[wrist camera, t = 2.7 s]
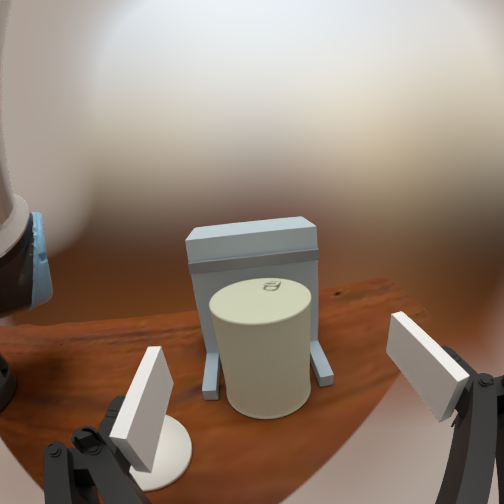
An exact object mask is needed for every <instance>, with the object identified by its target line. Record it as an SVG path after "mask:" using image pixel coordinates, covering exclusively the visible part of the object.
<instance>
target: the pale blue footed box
mask: <svg viewBox="0 0 504 504" xmlns="http://www.w3.org/2000/svg"><path fill="white" fill-rule="evenodd" d="M316 230H317V229H316V226H315V225H313V224H312V223H310V222H309V221H308V220H306V219H305V218H303V217H302V216H301V217H291V218H281V219H270V220H260V221H251V222H241V223H233V224H223V225H215V226H207V227H198V228H194V230H193V231H192V232H191V234H190V235H189V236H188V238H187V239H186V240H185V241H186V248H187V254H188V260H189V263H188V267H189V272H190V274H191V277H192V282H193V288H194V293H195V298H196V303H197V309H198V314H199V318H200V323H201V328H202V333H203V337H204V342H205V346H206V351H207V357H206V365H205V372H204V380H203V387H202V392H203V396H204V399H205V400H218V399H219V381H220V365H221V358H220V353H219V348H218V343H217V339H216V334H215V329H214V324H213V319H212V315H211V311H210V309H209V302H210V300H211V298H212V297H213V295H214V294H215V293H217V292H218V291H219V290H221V289H223V288H225V287H227V286H229V285H232V284H234V283H238V282H241V281H246V280H251V279H260V278H279V279H287V280H291V281H295V282H297V283H300V284H302V285H304V286H305V287H306V288H307V289H308V290H309V291H310V293H311V310H310V362H311V365H312V368H313V370H314V373H315V376H316V378H317V381H318V384H319V386H320V387H322V386H327V385H332V384H333V377H334V374H333V372H332V370H331V368H330V365H329V363H328V361H327V359H326V357H325V355H324V352H323V350H322V348H321V346H320V344H319V342H318V260H319V249H318V248H317V231H316Z"/></svg>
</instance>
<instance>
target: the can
mask: <svg viewBox="0 0 504 504" xmlns="http://www.w3.org/2000/svg"><path fill="white" fill-rule="evenodd" d="M209 309H210V311H211V315H212V319H213V324H214V329H215V334H216V339H217V343H218V348H219V353H220V358H221V363H222V368H223V373H224V378H225V382H226V388H227V391H226V392H227V398H228V401H229V403H230V404H231V406H232V407H233V408H234V409H235V410H237V411H238V412H240V413H241V414H243V415H245V416H248V417H251V418H256V419H275V418H280V417H284V416H287V415H289V414H291V413H293V412H295V411H296V410H298V409H299V408H300V407H301V406H302V405H303V404H304V403H305V402H306V401H307V399H308V397H309V395H310V391H311V384H310V310H311V293H310V291H309V290H308V289H307V288H306V287H305V286H304V285H302V284H300V283H297V282H295V281H291V280H287V279H279V278H260V279H251V280H246V281H241V282H238V283H234V284H232V285H229V286H227V287H225V288H223V289H221V290H219V291H218V292H217V293H215V294H214V295H213V297H212V298H211V300H210V302H209Z"/></svg>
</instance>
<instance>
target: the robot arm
mask: <svg viewBox="0 0 504 504" xmlns="http://www.w3.org/2000/svg"><path fill="white" fill-rule="evenodd" d="M11 4H12V0H0V318H4V317H7V316H10V315H13V314H16V313H20V312H23V311H26V310H32V309H33V308H34V307H35V306H38V305H40V304H43V303H45V302H47V301H49V300H50V298H51V296H52V291H53V290H52V283H51V278H50V273H49V266H48V261H47V254H46V246H45V238H44V229H43V220H42V215H41V213H38V212H37V213H35V212H32V213H30V212H29V208H28V206H27V203H26V201H25V200H24V199H23V198H22V197H20V196H19V195H16V194H13V192H12V187H11V182H10V176H9V171H8V165H7V158H6V151H5V143H4V133H3V122H2V65H3V64H2V63H3V52H4V44H5V36H6V29H7V23H8V18H9V13H10V9H11ZM386 352H387V354H388V355H389V356H390V358H391V359H392V360H393V361H394V363H395V364H396V365H397V367H398V368H399V369H400V370H401V372H402V373H403V374H404V376H405V377H406V378H407V380H408V381H409V382H410V384H411V385H412V386H413V387H414V389H415V390H416V392H417V393H418V394H419V396H420V397H421V398H422V400H423V401H424V402H425V404H426V405H427V407H429V409H430V411H431V412H432V413H433V415H434V416H435V417H436V419H437V420H438V422H442V421H444V420H446V419H447V418H449V417H451V415H452V413H453V411H454V409H456V410H457V412H458V414H457V416H456V418H455V420H454V421H453V423H452V426H451V427H453V426H454V424H455V428H454V434H453V440H452V445H451V449H450V454H449V459H448V462H447V467H446V470H445V474H444V478H443V481H442V485H441V488H440V491H439V494H438V497H437V500H436V503H435V504H487V503H488V498H489V493H490V488H491V483H492V476H493V469H494V462H495V458H496V466H497V475H498V489H499V504H504V375H503V376H500V377H496V378H493V376H491V375H489V374H486V373H481V374H478V373H477V372H476V371H474V370H473V369H472V368H471V367H470V366H469V365H468V364H467V363H466V362H465V361H464V360H462V358H461V357H460V356H458V354H456V352H455V351H453V350H452V349H451V348H448V347H446V346H442V347H440V346H439V345H438V344H437V343H436V342H435V341H434V340H433V339H432V338H430V337H429V336H428V335H427V334H426V333H425V332H424V331H423V330H422V329H421V328H420V327H419V326H418V325H416V324H415V323H414V322H413V321H412V320H411V319H410V318H409V317H408V316H407V315H405V314H404V313H403V312H398V313H394V314H391V322H390V330H389V337H388V343H387V349H386ZM16 384H17V379H16V375H15V373H14V371H13V370H12V368H11V366H10V364H9V363H8V361H7V360H6V359H5V358H4V357H3V356H2V354H1V353H0V411H1V410H2V409H3V408H4V407H5V406H6V405H7V403H8V402H9V401H10V399H11V398H12V396H13V394H14V391H15V389H16ZM172 387H173V380H172V378H171V375H170V372H169V369H168V366H167V363H166V360H165V357H164V354H163V351H162V348H161V346H158V347H148V349H147V351H146V353H145V355H144V357H143V359H142V362H141V364H140V366H139V368H138V370H137V373H136V375H135V377H134V379H133V382H132V384H131V386H130V388H129V391H128V393H127V395H126V396H117V397H116V398H115V399H114V400H113V401H112V402H111V404H110V406H109V408H108V411H107V412H106V414H105V417H104V419H103V421H102V423H101V425H100V428H99V430H98V431H97V430H96V429H95V428H93V427H91V426H84V427H80V428H79V429H77V430H76V431H75V432H74V433H73V435H72V443H73V444H74V445H75V447H76V448H67V447H66V446H65V445H64V444H63V443H62V442H59V441H54V442H51V443H49V444H48V445H47V446H46V447H45V449H44V459H43V471H44V495H45V504H100V502H99V498H98V493H97V489H98V491H99V493H100V495H101V497H102V499H103V500H104V502H105V504H152V503H151V502H150V500H149V499H148V498H147V496H146V495H145V493H144V492H143V491H142V489H141V488H140V486H139V485H138V483H137V482H136V480H135V479H134V477H133V476H132V474H131V473H130V472H129V470H130V467H131V466H132V467H133V468H134V469H135V471H138V472H145V473H152V469H153V464H154V460H155V455H156V451H157V447H158V442H159V438H160V434H161V430H162V426H163V422H164V418H165V414H166V410H167V406H168V402H169V398H170V394H171V391H172ZM96 487H97V489H96Z"/></svg>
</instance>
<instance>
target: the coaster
mask: <svg viewBox="0 0 504 504" xmlns="http://www.w3.org/2000/svg"><path fill="white" fill-rule="evenodd" d="M192 452H193V448H192V442H191V439H190V437H189V435H188V433H187V431H186V429H185V428H184V427H183V426H182V424H180V423H179V422H178V421H177V420H175V419H174V418H172V417H170V416H167V415H165V418H164V422H163V426H162V430H161V434H160V438H159V442H158V447H157V451H156V455H155V460H154V464H153V469H152V473H145V472H138V471H135V469H134V468H133V467H132V466H131V467H130V470H129V472H130V473H131V474H132V476H133V477H134V479H135V480H136V482H137V483H138V485H139V486H140V488H141V489H142V491H143V492H147V491H154V490H158V489H161V488H164V487H166V486H168V485H170V484H172V483H173V482H175V481H176V480H177V479H179V478H180V477H181V476H182V475H183V474H184V472H185V471H186V470H187V468H188V466H189V464H190V462H191V458H192Z"/></svg>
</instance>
